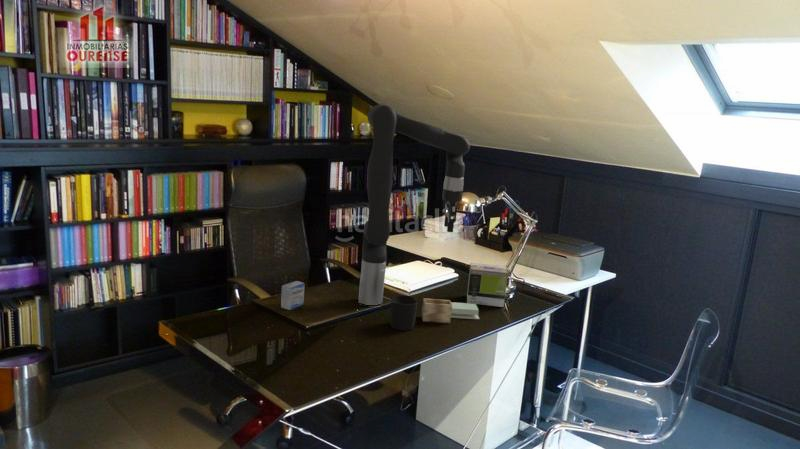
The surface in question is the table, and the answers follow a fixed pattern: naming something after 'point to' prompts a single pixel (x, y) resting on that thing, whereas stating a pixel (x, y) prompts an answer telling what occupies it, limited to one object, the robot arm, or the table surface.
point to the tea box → (487, 284)
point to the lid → (464, 309)
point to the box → (436, 310)
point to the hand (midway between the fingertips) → (448, 229)
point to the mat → (464, 316)
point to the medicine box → (292, 295)
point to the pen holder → (403, 312)
